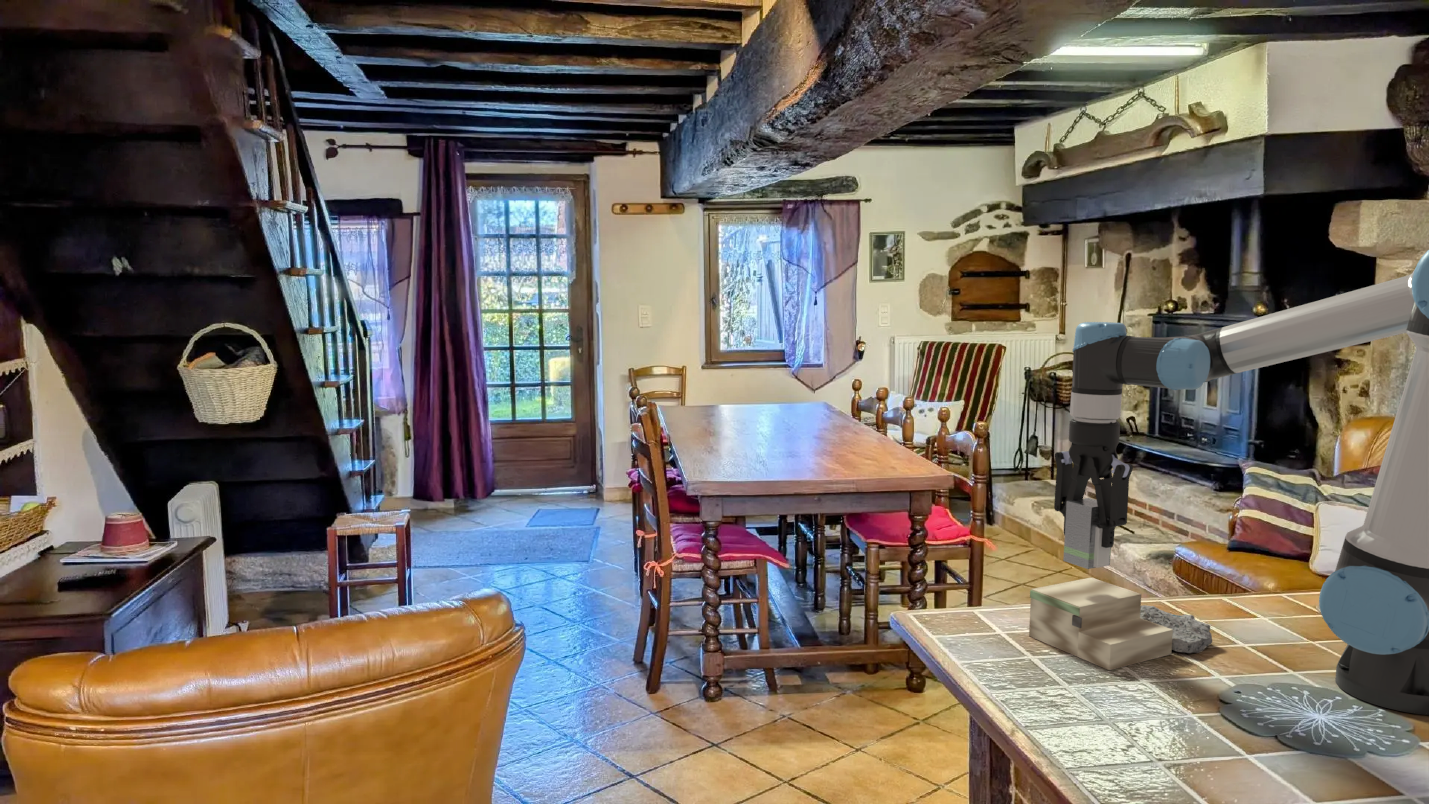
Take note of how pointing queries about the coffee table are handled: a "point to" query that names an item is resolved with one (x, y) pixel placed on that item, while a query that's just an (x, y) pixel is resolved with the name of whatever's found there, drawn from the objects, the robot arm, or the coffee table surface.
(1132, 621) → the stand
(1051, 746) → the coffee table surface
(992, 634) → the coffee table surface
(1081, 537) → the column
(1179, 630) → the rock
